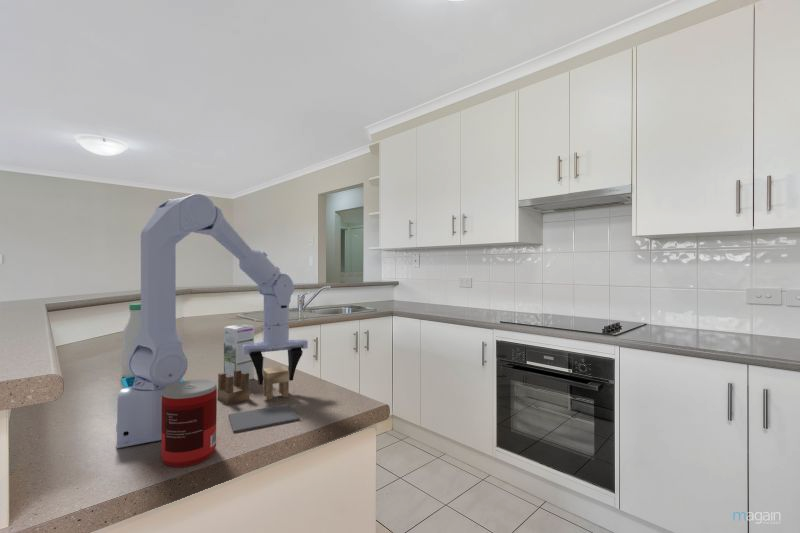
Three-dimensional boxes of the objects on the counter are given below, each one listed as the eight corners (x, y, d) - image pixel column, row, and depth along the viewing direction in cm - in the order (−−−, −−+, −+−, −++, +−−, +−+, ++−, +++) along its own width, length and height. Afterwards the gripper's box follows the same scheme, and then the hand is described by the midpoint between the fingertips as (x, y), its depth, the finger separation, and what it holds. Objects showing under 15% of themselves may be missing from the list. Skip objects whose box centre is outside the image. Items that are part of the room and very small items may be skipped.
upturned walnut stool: (227, 405, 83) (227, 377, 83) (217, 400, 86) (217, 373, 86) (249, 399, 86) (249, 373, 86) (238, 394, 90) (239, 369, 90)
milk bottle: (142, 378, 102) (143, 304, 102) (114, 378, 102) (115, 304, 102) (161, 370, 110) (161, 302, 110) (135, 370, 110) (135, 302, 110)
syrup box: (255, 378, 102) (255, 325, 103) (235, 384, 97) (235, 328, 98) (242, 375, 105) (242, 323, 106) (222, 380, 100) (222, 326, 101)
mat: (233, 432, 68) (233, 430, 68) (228, 416, 76) (228, 414, 76) (299, 420, 74) (299, 418, 74) (288, 405, 82) (288, 403, 82)
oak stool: (266, 400, 85) (266, 373, 85) (262, 393, 90) (262, 368, 90) (289, 396, 88) (289, 370, 88) (284, 390, 92) (284, 366, 92)
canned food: (203, 439, 65) (203, 376, 66) (225, 454, 60) (225, 385, 60) (153, 456, 59) (153, 387, 60) (172, 474, 54) (173, 397, 55)
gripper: (245, 328, 82) (245, 391, 82) (311, 324, 89) (311, 381, 89) (241, 324, 88) (241, 382, 88) (303, 320, 95) (302, 374, 95)
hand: (275, 381), depth 89 cm, fingers open, 6 cm apart
